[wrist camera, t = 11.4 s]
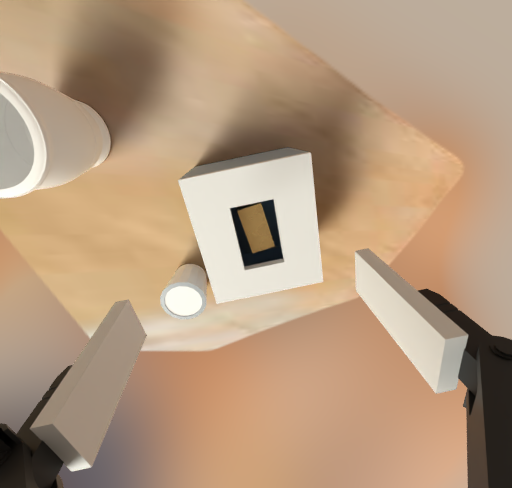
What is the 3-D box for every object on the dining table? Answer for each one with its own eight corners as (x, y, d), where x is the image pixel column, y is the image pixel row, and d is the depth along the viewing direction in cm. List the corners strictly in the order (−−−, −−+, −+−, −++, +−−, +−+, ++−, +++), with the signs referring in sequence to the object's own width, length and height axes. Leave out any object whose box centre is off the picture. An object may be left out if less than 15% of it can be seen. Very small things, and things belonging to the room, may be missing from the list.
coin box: (194, 166, 37) (178, 180, 26) (288, 147, 37) (310, 152, 26) (221, 261, 43) (216, 303, 32) (300, 244, 43) (323, 281, 32)
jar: (19, 101, 32) (-142, 76, 18) (96, 80, 32) (-8, 39, 18) (63, 183, 36) (-40, 212, 23) (132, 165, 36) (70, 184, 22)
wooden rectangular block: (236, 194, 38) (237, 210, 30) (255, 188, 38) (261, 203, 30) (248, 229, 41) (252, 253, 32) (266, 223, 40) (274, 246, 32)
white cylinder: (205, 257, 43) (201, 279, 36) (213, 290, 46) (210, 316, 39) (166, 263, 43) (154, 286, 36) (176, 296, 46) (167, 323, 39)
